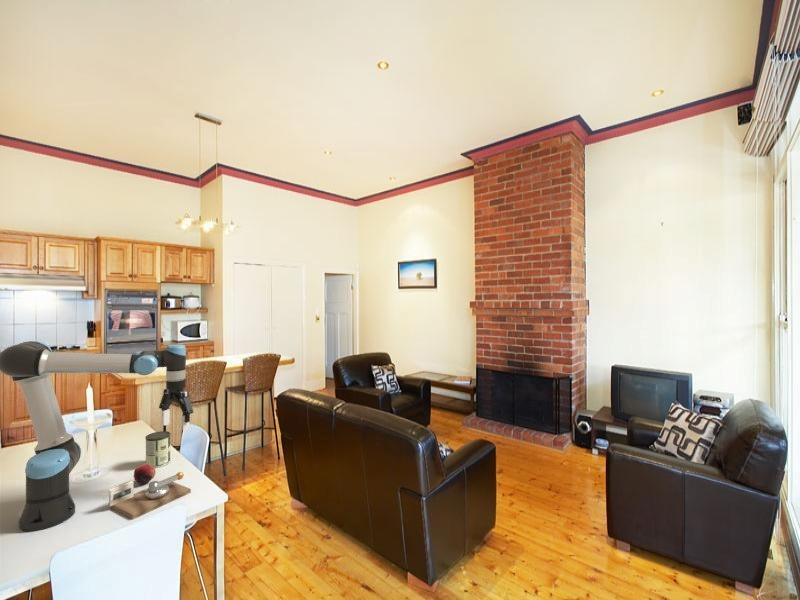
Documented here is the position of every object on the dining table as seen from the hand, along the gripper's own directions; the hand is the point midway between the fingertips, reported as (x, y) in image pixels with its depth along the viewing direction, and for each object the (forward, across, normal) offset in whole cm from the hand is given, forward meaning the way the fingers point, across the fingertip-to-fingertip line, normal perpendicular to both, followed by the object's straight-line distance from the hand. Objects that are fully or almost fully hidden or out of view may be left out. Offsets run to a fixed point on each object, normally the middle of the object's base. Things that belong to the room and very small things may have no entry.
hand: (175, 427), depth 170 cm
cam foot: (+21, -9, +10) cm, 26 cm away
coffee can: (+24, +23, -6) cm, 33 cm away
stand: (+23, -8, +15) cm, 29 cm away
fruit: (+24, +8, +8) cm, 26 cm away
